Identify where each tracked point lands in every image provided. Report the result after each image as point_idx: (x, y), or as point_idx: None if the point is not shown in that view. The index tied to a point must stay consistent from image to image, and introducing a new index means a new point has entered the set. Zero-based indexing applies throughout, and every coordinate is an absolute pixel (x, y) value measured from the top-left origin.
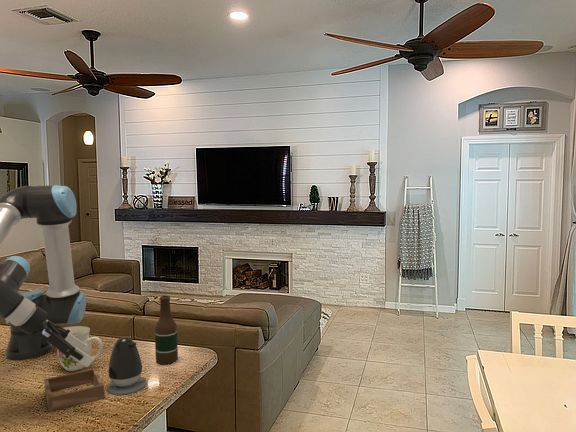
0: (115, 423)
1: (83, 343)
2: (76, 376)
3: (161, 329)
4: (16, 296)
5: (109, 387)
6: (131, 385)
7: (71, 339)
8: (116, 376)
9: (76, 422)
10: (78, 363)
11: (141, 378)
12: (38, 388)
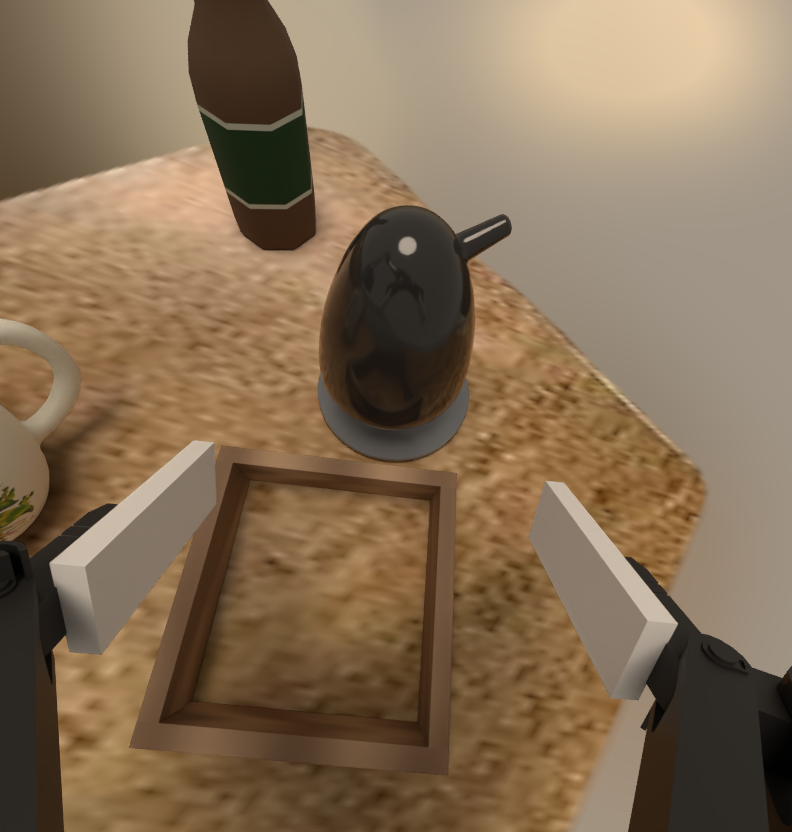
0: (668, 517)
1: (199, 456)
2: (215, 547)
3: (274, 85)
4: None
5: (383, 447)
6: None
7: (133, 553)
8: (446, 407)
9: None
10: (36, 492)
11: None
12: (91, 750)
